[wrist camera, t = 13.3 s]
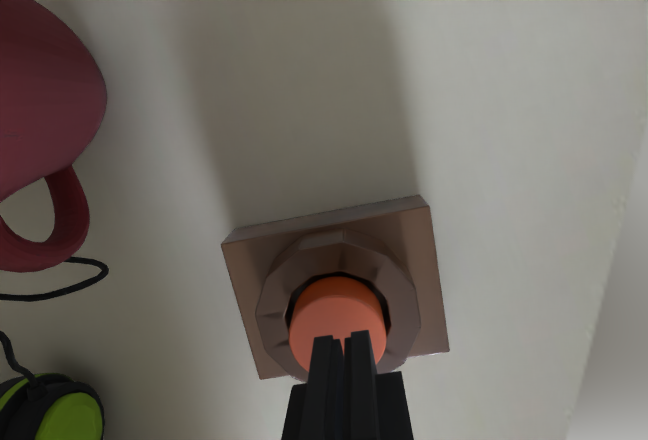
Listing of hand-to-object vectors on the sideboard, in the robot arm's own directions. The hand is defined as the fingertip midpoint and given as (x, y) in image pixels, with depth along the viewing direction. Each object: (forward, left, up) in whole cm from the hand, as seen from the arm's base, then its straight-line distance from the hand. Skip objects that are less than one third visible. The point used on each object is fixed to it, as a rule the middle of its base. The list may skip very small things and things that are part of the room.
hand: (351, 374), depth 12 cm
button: (+1, 0, -4) cm, 4 cm away
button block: (+1, 0, -8) cm, 8 cm away
